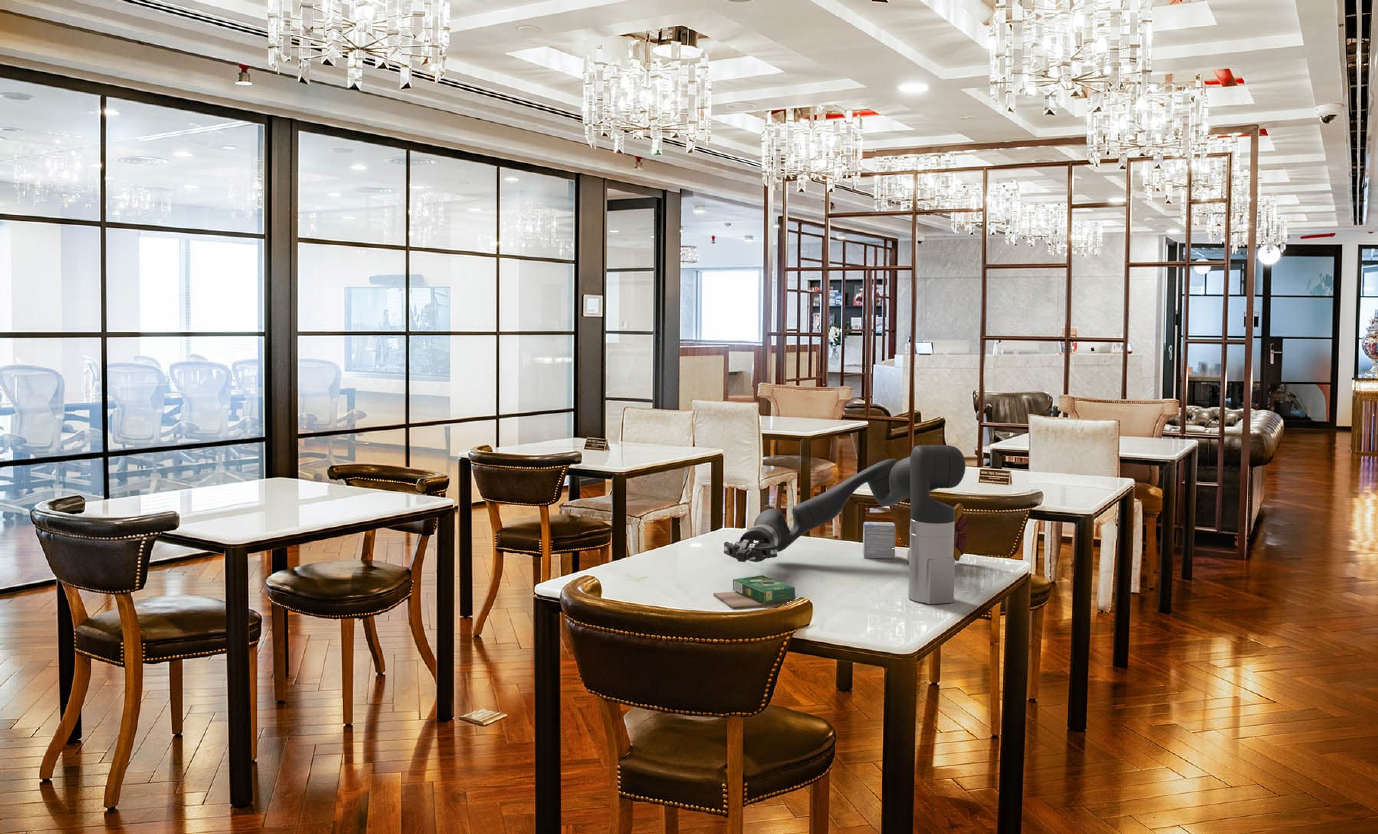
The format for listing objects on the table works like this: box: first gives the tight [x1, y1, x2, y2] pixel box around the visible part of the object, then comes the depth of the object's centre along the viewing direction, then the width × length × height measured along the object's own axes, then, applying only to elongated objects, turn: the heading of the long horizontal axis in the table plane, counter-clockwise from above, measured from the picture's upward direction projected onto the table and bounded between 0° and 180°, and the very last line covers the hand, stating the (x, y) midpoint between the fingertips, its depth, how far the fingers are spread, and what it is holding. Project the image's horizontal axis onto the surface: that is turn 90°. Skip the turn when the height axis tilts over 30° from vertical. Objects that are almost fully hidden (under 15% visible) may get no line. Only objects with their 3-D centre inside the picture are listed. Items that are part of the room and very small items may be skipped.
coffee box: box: [732, 575, 796, 604], centre depth 233 cm, size 8×3×13 cm
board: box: [713, 591, 798, 610], centre depth 232 cm, size 12×16×1 cm
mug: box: [906, 503, 969, 565], centre depth 268 cm, size 11×16×15 cm, turn 111°
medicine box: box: [862, 521, 897, 560], centre depth 276 cm, size 8×4×9 cm, turn 84°
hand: (740, 557), depth 236 cm, fingers closed
